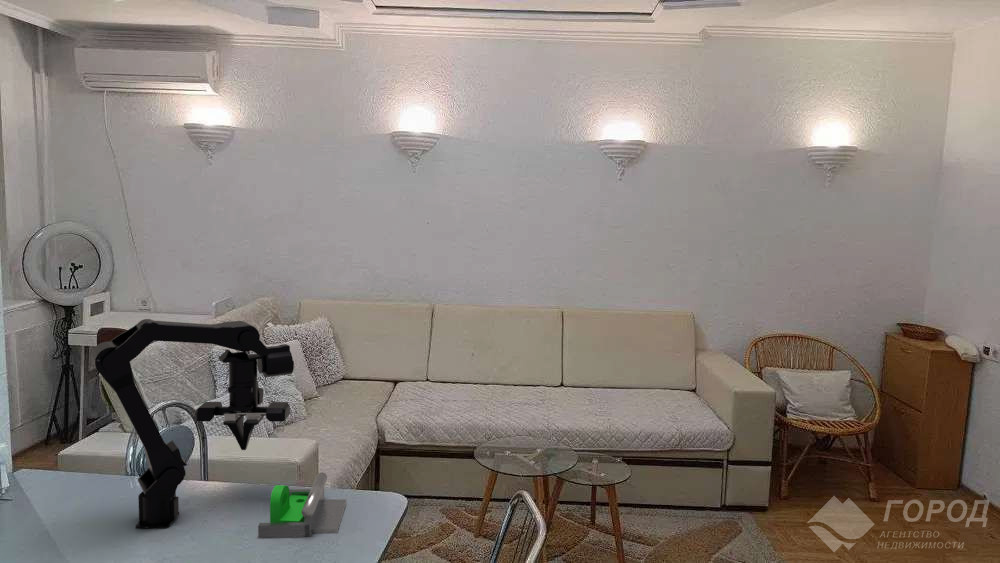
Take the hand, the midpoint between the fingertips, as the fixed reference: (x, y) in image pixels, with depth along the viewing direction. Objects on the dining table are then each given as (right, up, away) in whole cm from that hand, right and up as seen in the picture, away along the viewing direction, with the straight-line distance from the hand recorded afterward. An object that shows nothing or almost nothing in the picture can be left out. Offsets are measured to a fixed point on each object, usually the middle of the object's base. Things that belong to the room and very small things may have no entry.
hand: (244, 449), depth 152 cm
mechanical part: (+12, -13, -4) cm, 19 cm away
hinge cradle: (+15, -13, -5) cm, 21 cm away
